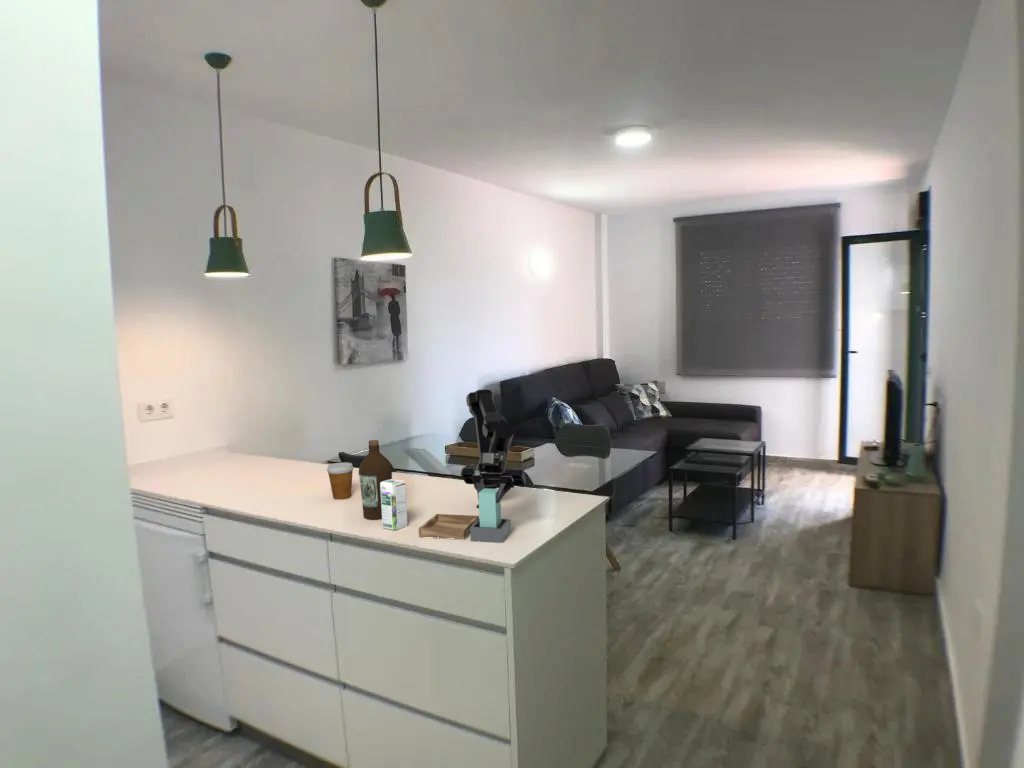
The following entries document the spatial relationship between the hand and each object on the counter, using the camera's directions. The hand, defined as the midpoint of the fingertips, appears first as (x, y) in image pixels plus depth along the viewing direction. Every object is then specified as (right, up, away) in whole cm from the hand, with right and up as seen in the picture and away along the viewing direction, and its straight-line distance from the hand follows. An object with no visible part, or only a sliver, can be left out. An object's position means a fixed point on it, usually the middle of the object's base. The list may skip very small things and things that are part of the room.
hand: (488, 501), depth 193 cm
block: (+1, -7, +2) cm, 7 cm away
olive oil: (-37, -10, +28) cm, 47 cm away
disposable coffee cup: (-55, -8, +52) cm, 77 cm away
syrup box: (-29, -11, +15) cm, 35 cm away
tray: (-12, -10, +9) cm, 18 cm away
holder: (+1, -11, +2) cm, 11 cm away
